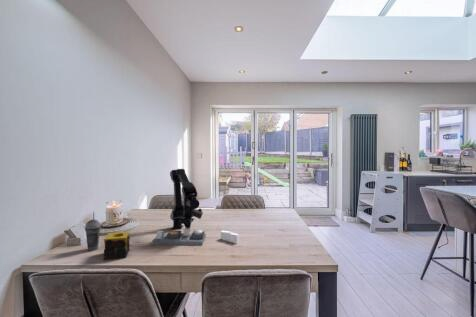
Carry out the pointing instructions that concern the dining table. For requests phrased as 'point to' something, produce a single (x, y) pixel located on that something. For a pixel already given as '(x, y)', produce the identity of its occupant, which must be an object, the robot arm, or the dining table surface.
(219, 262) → the dining table surface
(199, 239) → the control panel
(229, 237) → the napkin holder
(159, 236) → the grey metal block
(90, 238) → the beverage cup
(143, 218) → the dining table surface
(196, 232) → the button grey
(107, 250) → the black and yellow box
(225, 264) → the dining table surface
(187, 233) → the lever ivory
